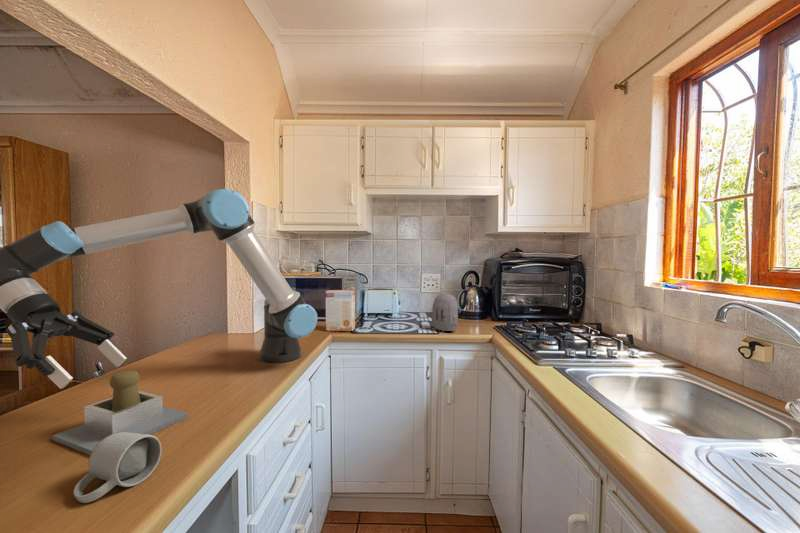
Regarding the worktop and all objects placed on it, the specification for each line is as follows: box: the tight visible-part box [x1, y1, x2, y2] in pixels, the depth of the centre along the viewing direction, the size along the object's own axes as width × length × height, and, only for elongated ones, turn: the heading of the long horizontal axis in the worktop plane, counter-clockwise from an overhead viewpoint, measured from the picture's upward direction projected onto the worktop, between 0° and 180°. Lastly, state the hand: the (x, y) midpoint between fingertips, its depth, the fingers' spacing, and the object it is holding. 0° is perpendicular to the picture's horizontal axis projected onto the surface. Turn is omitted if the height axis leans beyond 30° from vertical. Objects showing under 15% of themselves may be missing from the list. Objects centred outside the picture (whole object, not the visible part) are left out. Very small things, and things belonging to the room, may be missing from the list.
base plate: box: [52, 405, 189, 456], centre depth 76 cm, size 18×16×1 cm
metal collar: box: [83, 390, 164, 437], centre depth 76 cm, size 10×10×5 cm
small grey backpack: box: [431, 292, 459, 332], centre depth 176 cm, size 15×8×20 cm, turn 44°
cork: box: [109, 370, 141, 412], centre depth 77 cm, size 6×6×11 cm
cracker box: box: [325, 289, 356, 332], centre depth 176 cm, size 14×6×21 cm, turn 82°
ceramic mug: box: [73, 432, 162, 504], centre depth 58 cm, size 11×8×8 cm
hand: (97, 372), depth 76 cm, fingers open, 13 cm apart
